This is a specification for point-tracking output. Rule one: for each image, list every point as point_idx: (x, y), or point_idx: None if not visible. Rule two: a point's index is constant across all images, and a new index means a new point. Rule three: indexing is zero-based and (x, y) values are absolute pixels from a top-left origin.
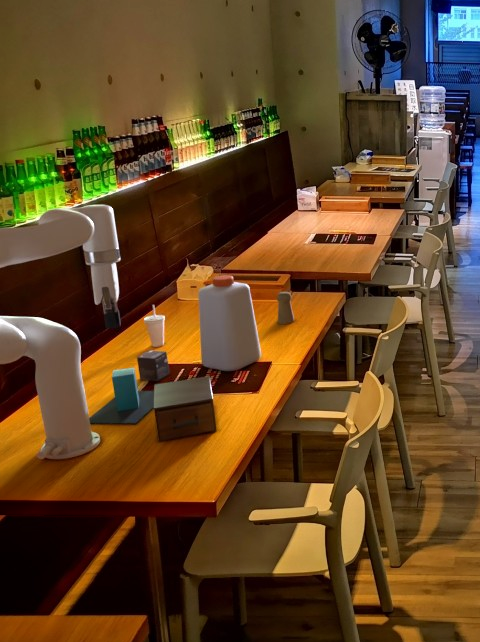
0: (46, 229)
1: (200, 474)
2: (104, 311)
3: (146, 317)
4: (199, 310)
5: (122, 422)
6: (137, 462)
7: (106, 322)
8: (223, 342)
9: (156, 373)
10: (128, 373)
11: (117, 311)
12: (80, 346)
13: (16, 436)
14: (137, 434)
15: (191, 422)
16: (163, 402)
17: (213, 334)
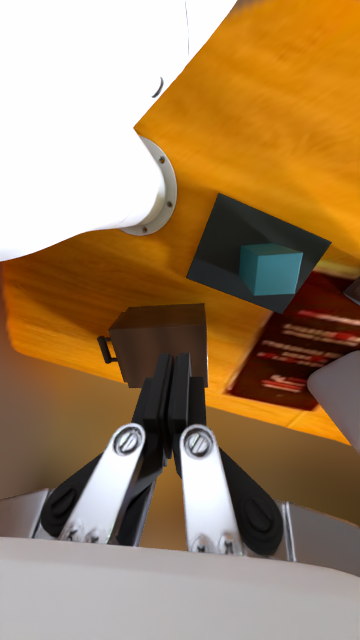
0: None
1: (53, 345)
2: (109, 446)
3: None
4: None
5: (194, 259)
6: (81, 288)
7: (155, 376)
8: (339, 409)
9: (352, 297)
10: (262, 286)
11: (164, 464)
12: (13, 258)
13: (215, 44)
14: (155, 281)
15: (103, 356)
16: (129, 339)
17: None
